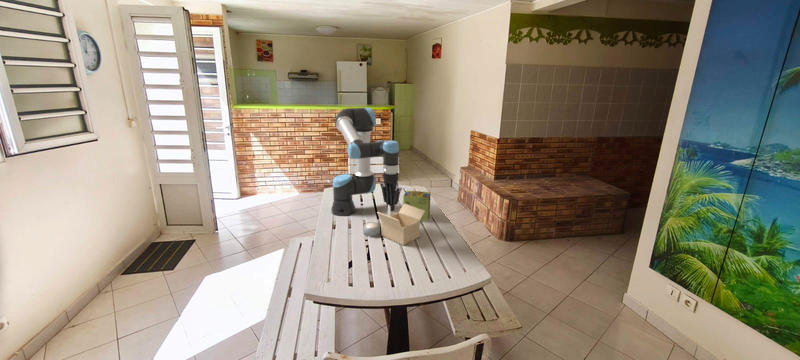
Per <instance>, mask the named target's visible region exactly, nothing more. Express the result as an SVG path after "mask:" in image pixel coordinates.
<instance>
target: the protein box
mask: <svg viewBox="0 0 800 360" xmlns="http://www.w3.org/2000/svg"><path fill="white" fill-rule="evenodd" d="M402 202H403V205H404V204H407V205H410V206H413V207H416V208H419V209H422V210H425V213H424V214H423V216H422V218H421V220H420V222H423V221H425V222H426V223H428V222H429V219H430V215H431V192H430V191H419V190H418V191H417V190H406V191H405V193H404V194H403V201H402ZM403 205H402V206H403ZM409 217H410V216H409ZM417 220H418V219H417Z"/></svg>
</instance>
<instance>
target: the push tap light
mask: <svg viewBox="0 0 800 360" xmlns="http://www.w3.org/2000/svg"><path fill="white" fill-rule="evenodd" d="M379 235H381V224H380V223H379V222H375V221H369V222H366V223H364V224H363V236H365V237H368V236H370V237H368V238H376V237H379ZM375 236H376V237H375Z"/></svg>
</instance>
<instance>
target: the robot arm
mask: <svg viewBox="0 0 800 360" xmlns="http://www.w3.org/2000/svg"><path fill="white" fill-rule="evenodd" d="M376 118H377V117H376V114H375V112H374V109H372V108H371V107H353V108H351V107H349V108H347V107H346V108H345V109H341V110H340V111H339V112H338V113H337V115H336V116H335V118H334V124H335V127H336V129H337V130H338V131H339V132H340V133H341V134H342V136H343V138H344V140H345V142H346V143H347V147H346V148H347V150H346V151H347V156H348V158H349V159H351V160H356V171H355V172H354V175H353V176H352V175H351V174H349V173H348V174H345V173H343V174H339V175H337V176H335V177H334V178H333V179H332V190H333V191H332V194H333V200H332V201H333V202H332V206H331V209H330V210H331V214H333V215H335V216H339V217H341V216H345V217H346V216H350V215H353V214H355V213H356V206H355V203H354V200H353V196H356V195H362V194H364V195H365V194H370V193H374V191H375V190H376V186H377V181H376V175H375V174H373V173H374V172H373V171H372V170H371V158H380V157H381V158H382V159H383V160H382V161H383V162H382V165H383V169H382V170H383V171H382V172H383V175H382V176H383V177H382V178H383V182H382V183H380V184H379V186H380V188H381V193H382V196H383V197H382V198H383V202H384V203H386V209H387V216H390V217H392V216H394V212H395V206H396V205H398V204H399V199H400V196H401V192H402V189H403V188H402V187H400V186H399V183H398V181H399V161H400V160H399V159H400V158H399V157H400V156H399V153H400V152H399V151H400V147H399V146H400V145H399V142H398V141H396V140H382V139H381V140H377V141H373V142H371V133H372V132H373V129H374V128H375V127H376V126H377V119H376Z"/></svg>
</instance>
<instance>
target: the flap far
mask: <svg viewBox="0 0 800 360" xmlns="http://www.w3.org/2000/svg"><path fill="white" fill-rule="evenodd" d="M398 212H399V213H401V214H404V215H407V216H410V217H412V218H415V219H418V220H421V218H422V216H423V214H424V213H425V210H422V209H419V208H416V207H413V206H410V205H407V204H404V205H401V208H400V209H399V211H398Z"/></svg>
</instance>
